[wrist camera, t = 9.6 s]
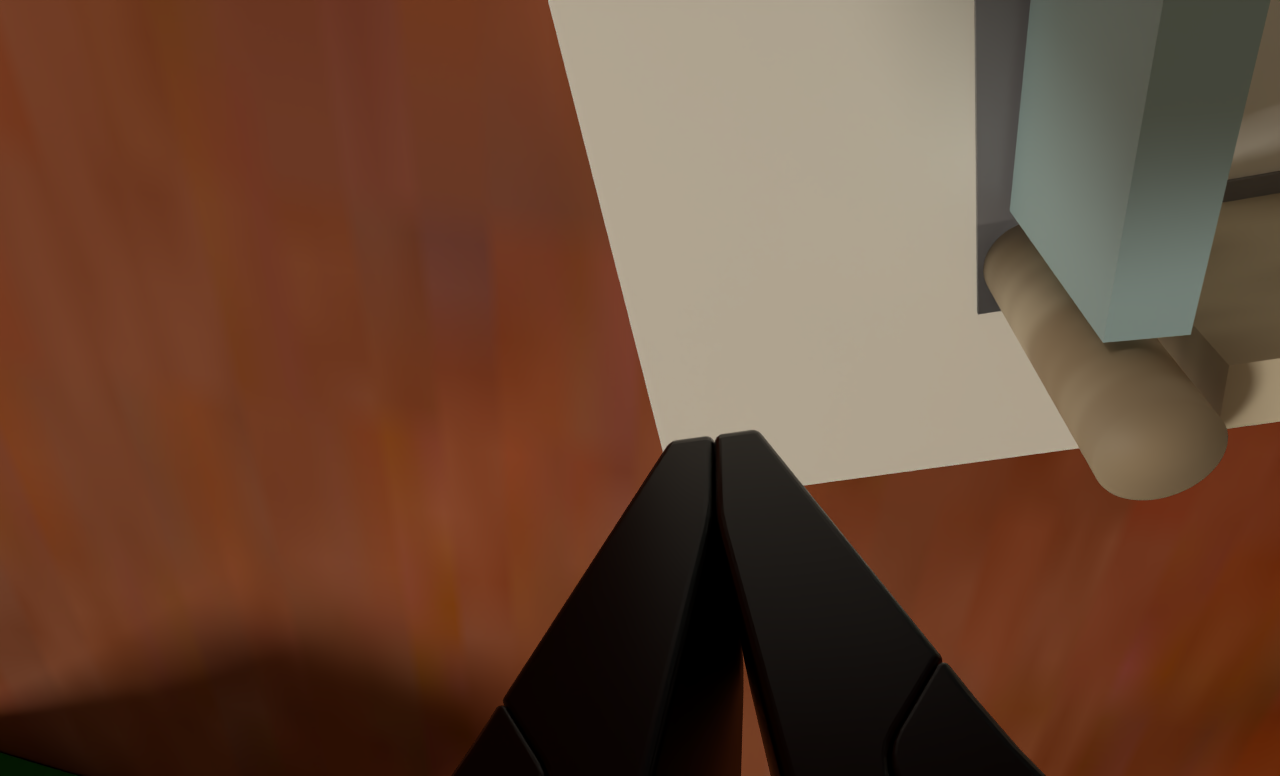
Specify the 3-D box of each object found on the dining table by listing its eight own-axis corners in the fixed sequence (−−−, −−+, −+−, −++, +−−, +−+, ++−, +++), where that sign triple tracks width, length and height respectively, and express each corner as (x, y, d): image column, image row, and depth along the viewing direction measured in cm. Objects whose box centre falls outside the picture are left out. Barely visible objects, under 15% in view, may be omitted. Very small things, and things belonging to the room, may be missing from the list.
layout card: (2586, -1263, 9) (2659, -1303, 8) (1725, 350, 19) (1743, 361, 19) (409, -558, 12) (402, -565, 12) (675, 494, 22) (676, 505, 22)
